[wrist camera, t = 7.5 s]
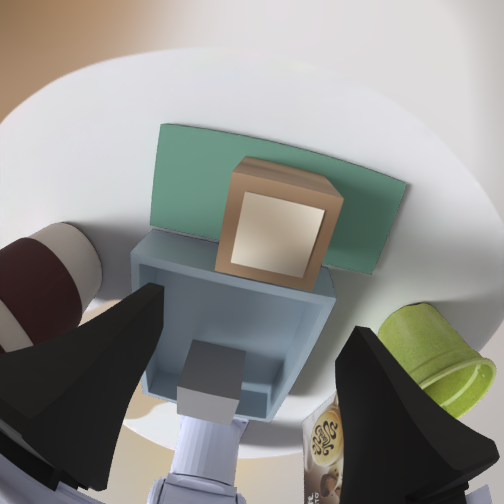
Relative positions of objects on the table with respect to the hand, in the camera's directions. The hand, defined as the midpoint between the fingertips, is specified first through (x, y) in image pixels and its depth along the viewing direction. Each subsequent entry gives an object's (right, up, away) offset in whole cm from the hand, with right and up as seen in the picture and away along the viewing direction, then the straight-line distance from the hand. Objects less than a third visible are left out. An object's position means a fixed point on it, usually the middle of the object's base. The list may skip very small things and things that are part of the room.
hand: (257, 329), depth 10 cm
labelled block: (+1, +6, +6) cm, 8 cm away
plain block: (-3, -7, +13) cm, 15 cm away
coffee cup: (-16, +2, +10) cm, 19 cm away
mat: (+1, +6, +7) cm, 9 cm away
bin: (-3, -4, +12) cm, 13 cm away
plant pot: (+13, -4, +11) cm, 18 cm away
